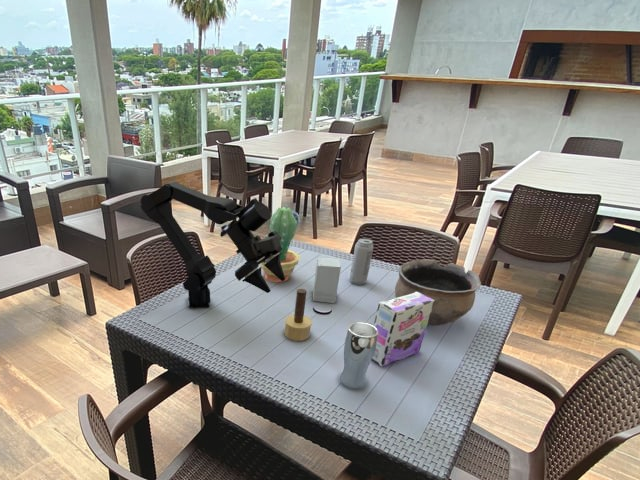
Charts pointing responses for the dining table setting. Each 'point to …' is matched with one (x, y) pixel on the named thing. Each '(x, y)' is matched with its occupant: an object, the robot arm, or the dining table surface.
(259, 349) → the dining table surface
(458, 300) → the ceramic bowl
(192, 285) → the robot arm
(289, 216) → the potted cactus
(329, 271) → the white packaging box
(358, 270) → the energy drink can
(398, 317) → the candy box
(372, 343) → the beer glass
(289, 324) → the peg on round base
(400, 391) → the dining table surface
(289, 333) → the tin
